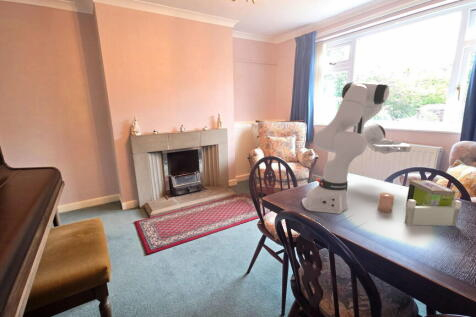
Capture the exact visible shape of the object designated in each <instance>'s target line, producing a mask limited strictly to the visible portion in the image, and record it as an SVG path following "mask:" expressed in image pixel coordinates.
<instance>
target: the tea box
mask: <svg viewBox="0 0 476 317" xmlns="http://www.w3.org/2000/svg"><path fill="white" fill-rule="evenodd" d="M456 192H457V191H456V190H454V189H451V188H450V187H447V186H444V185H441V184H439V183H437V182H435V181H433V180H426V179H425V180H423V179H422V180H417V179H416V180H414V179H413V180H412V179H410V180H409V184H408V190H407V197H406V202H405V208H407V205H408V199H413V200H415V201H416V206H450V207H451V205H452V200H455V197H456V196H455V195H456Z"/></svg>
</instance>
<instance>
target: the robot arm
mask: <svg viewBox="0 0 476 317" xmlns="http://www.w3.org/2000/svg"><path fill="white" fill-rule="evenodd" d="M389 89H390V88H389V85H388V84H386V83H383V82H379V83H378V82H368V81H358V82H355V81H353V82H347V83H346V84H345V85H344V86H343V88H342V91H341V98H342V100H341V102H340V104H339V107H338V110H337V112H336V114H335V116H334V117H333V119H332V120H331V121H330V122H329V123H328V124H327V125H326V126H325V127H323V128H322V129H320V130H318V131H317V132H316V133H315V134H314V135H313V141H312V142H313V145H314V148H316V149H319V150H321V151H324V152H329V153H334V154H335V155H334V158H333V159H330V160H328V161H327V162H326V163H325V164H324V167H323V178H320V177H317V178H316V182H317V183H318V185H317V186H315V187H314V188H312V189H310V190H308V192H307V194H306V197H303V198H302V199H301V204H302V206H303V207H304V209H306V210H307V211H310V212H319V213H327V214H328V213H329V214H337V215H338V214H342V213H343V212H345V211H347V210H348V207H349V206H348V203H347V191H348V187H349V186H348V183H349V182H348V175H349V169H350V166H351V164H352V162H353V161H354V160H355V159H356V158H357V157H359V156H360V155H361V156H362V154H363V153H365V151H366V149H367V148H369V149H371V150H372V151H373V152H378V153H380V154H381V153H382V154H383V155H385V154H389V153H410V152H411V150H412V149H411V148H412V146H411V145H409V144H407V143H404V142H402V141H398V140H392V139H388V138H386V131H385V129H384V127H383V126H382V125H380V124H378V123H373V124H370V125H368V126H366V127H365V124H366V123H367V122H368V121H369V120H371V119H372V118H373V117H375V116H376V115H378V114H380V112H381V110H382V108H383V104H384V103H385V102H386V101H387V99H388V97H389V95H390V90H389ZM351 128H353V130H352V131H348V130H350V129H351Z"/></svg>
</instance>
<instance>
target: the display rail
mask: <svg viewBox="0 0 476 317" xmlns="http://www.w3.org/2000/svg"><path fill="white" fill-rule="evenodd" d="M461 207H462V201H460V200H457V199H454V200H452V205H451V207H450V206H416V201H415V200H413V199H408V205H407V207H406V211H405V218H404V223H405V224H406V225H408V226H447V227H448V226H454V227H455V226H457V224H458V219H459V216H460V215H459V214H460V210H461Z"/></svg>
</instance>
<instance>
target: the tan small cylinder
mask: <svg viewBox="0 0 476 317" xmlns="http://www.w3.org/2000/svg"><path fill="white" fill-rule="evenodd" d="M394 201H395V195H394V194H392V193H388V192H380V193H379V197H378V203H377V210H378V212H382V213H387V214H391V213H393V209H394V208H393V207H394Z"/></svg>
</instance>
